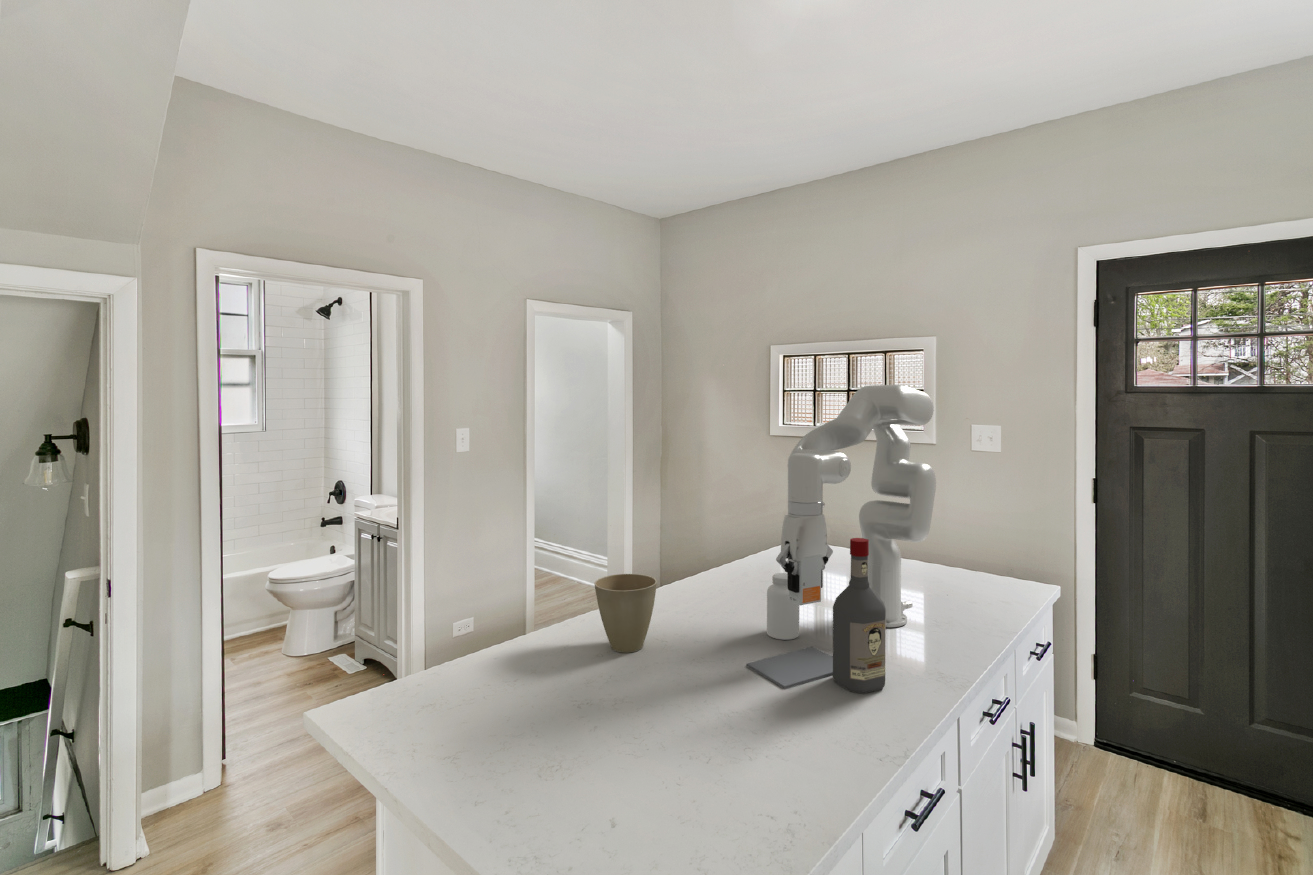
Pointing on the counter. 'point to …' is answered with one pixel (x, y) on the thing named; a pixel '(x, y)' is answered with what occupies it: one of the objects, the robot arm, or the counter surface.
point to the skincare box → (808, 581)
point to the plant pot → (626, 609)
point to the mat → (795, 667)
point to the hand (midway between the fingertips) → (805, 588)
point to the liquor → (859, 629)
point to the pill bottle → (781, 610)
